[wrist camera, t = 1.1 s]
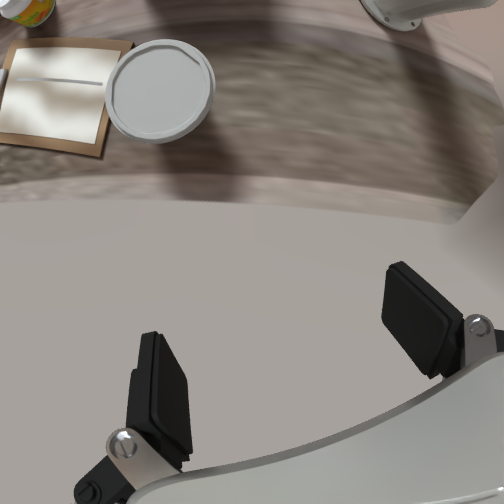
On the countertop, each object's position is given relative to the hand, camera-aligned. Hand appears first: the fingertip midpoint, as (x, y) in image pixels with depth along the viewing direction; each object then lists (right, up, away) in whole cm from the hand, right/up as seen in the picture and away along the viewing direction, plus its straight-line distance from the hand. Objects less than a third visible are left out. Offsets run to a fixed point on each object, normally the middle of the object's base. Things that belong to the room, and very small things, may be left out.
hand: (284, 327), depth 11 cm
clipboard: (-27, +23, +14) cm, 38 cm away
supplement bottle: (-30, +35, +8) cm, 47 cm away
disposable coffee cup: (-11, +21, +19) cm, 30 cm away
